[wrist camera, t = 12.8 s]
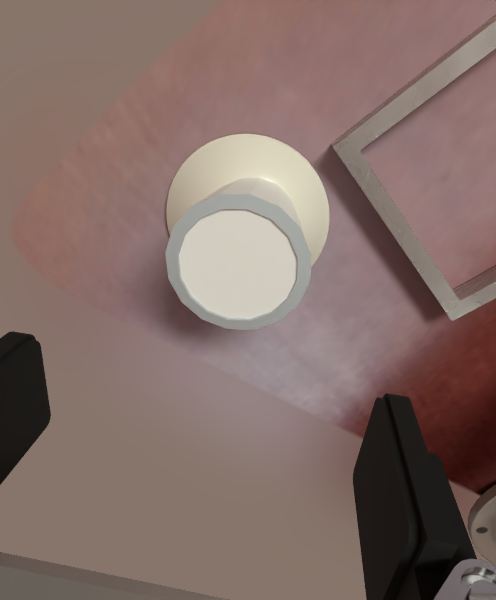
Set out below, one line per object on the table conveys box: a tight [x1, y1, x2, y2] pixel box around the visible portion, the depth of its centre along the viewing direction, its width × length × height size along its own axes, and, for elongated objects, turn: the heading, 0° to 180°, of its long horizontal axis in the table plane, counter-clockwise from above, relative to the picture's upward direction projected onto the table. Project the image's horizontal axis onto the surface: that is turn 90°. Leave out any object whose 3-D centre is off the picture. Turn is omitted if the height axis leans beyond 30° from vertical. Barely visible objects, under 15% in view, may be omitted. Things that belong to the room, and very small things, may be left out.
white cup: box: [165, 178, 311, 330], centre depth 22 cm, size 7×7×7 cm
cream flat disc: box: [166, 133, 329, 267], centre depth 25 cm, size 10×10×1 cm
